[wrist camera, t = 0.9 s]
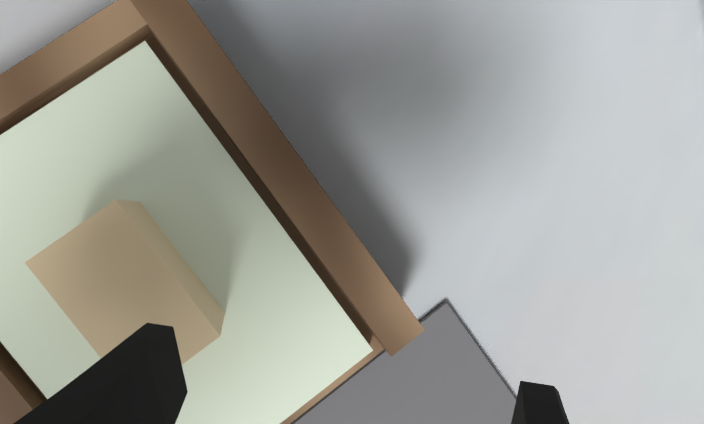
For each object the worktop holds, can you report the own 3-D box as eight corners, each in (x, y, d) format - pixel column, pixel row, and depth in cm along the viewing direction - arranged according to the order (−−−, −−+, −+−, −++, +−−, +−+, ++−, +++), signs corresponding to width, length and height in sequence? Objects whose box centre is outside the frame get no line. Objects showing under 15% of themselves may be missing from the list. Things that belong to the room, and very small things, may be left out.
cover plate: (154, 513, 22) (128, 597, 17) (-96, 207, 20) (-200, 206, 16) (369, 345, 23) (399, 380, 19) (148, 46, 22) (121, 1, 17)
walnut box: (132, 518, 25) (109, 580, 21) (-125, 206, 23) (-206, 206, 19) (397, 311, 27) (425, 330, 22) (178, 9, 25) (164, -30, 21)
